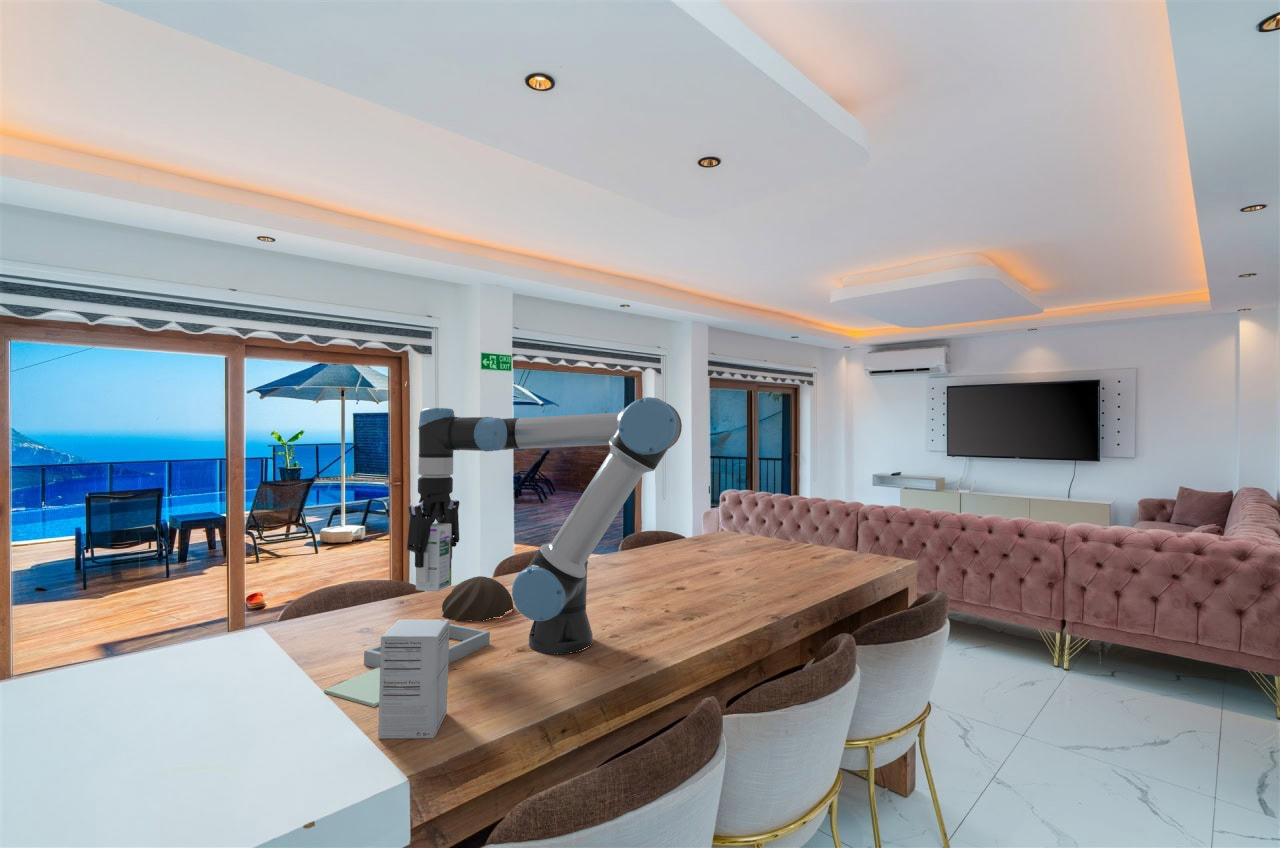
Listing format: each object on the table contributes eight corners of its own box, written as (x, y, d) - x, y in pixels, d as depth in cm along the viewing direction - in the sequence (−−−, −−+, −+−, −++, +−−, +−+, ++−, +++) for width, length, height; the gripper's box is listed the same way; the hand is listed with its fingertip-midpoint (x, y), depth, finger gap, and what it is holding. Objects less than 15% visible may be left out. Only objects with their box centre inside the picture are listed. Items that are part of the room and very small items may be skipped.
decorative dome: (511, 601, 184) (512, 567, 185) (514, 621, 165) (515, 583, 165) (443, 604, 179) (444, 569, 180) (439, 624, 160) (440, 586, 160)
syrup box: (438, 592, 135) (439, 526, 136) (414, 590, 137) (415, 524, 137) (451, 586, 141) (452, 522, 141) (428, 584, 142) (429, 521, 142)
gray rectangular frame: (489, 644, 146) (489, 631, 146) (417, 678, 125) (417, 663, 125) (440, 634, 152) (440, 622, 152) (363, 664, 131) (364, 650, 131)
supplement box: (394, 713, 109) (397, 618, 110) (447, 712, 110) (450, 618, 110) (376, 740, 100) (379, 635, 100) (434, 739, 100) (437, 635, 101)
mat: (426, 681, 123) (426, 678, 123) (374, 707, 111) (374, 703, 111) (379, 669, 129) (379, 667, 129) (324, 692, 117) (324, 689, 117)
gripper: (452, 473, 150) (450, 568, 149) (389, 477, 132) (387, 585, 131) (477, 474, 147) (475, 571, 146) (416, 479, 129) (413, 589, 128)
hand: (433, 578), depth 139 cm, fingers closed on syrup box, 6 cm apart
